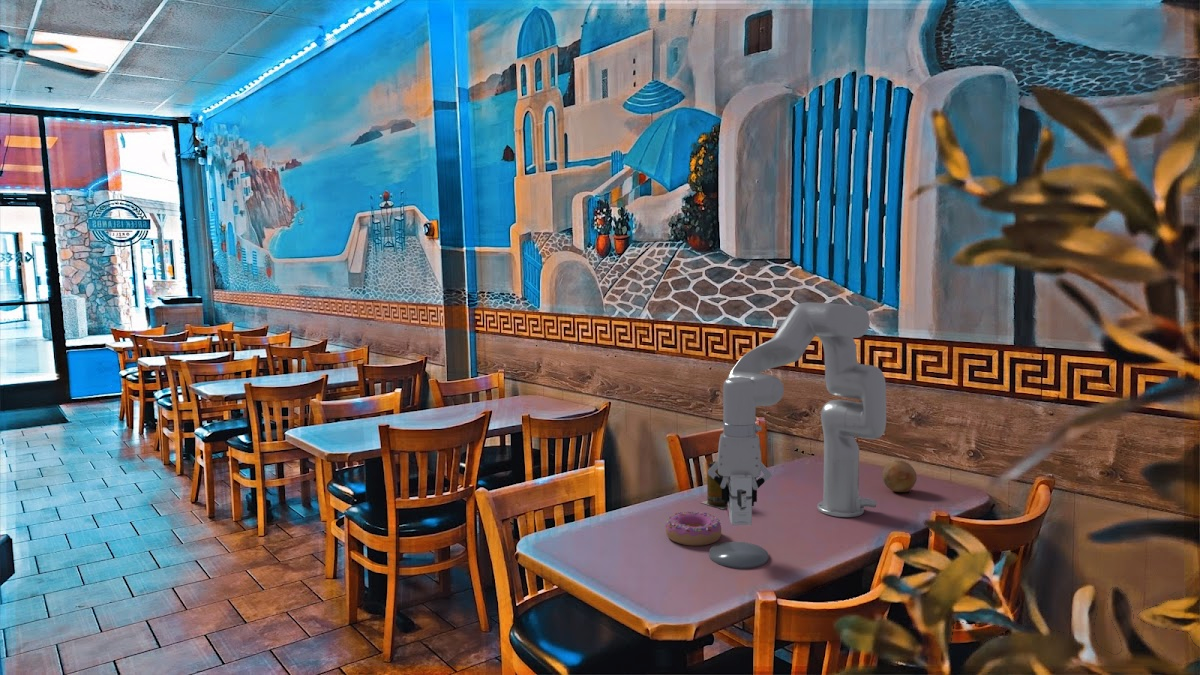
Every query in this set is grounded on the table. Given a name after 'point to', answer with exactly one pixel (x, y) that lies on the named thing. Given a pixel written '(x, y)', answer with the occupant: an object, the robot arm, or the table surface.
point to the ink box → (740, 499)
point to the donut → (693, 528)
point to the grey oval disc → (738, 555)
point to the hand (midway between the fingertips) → (739, 503)
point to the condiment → (714, 491)
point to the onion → (899, 476)
